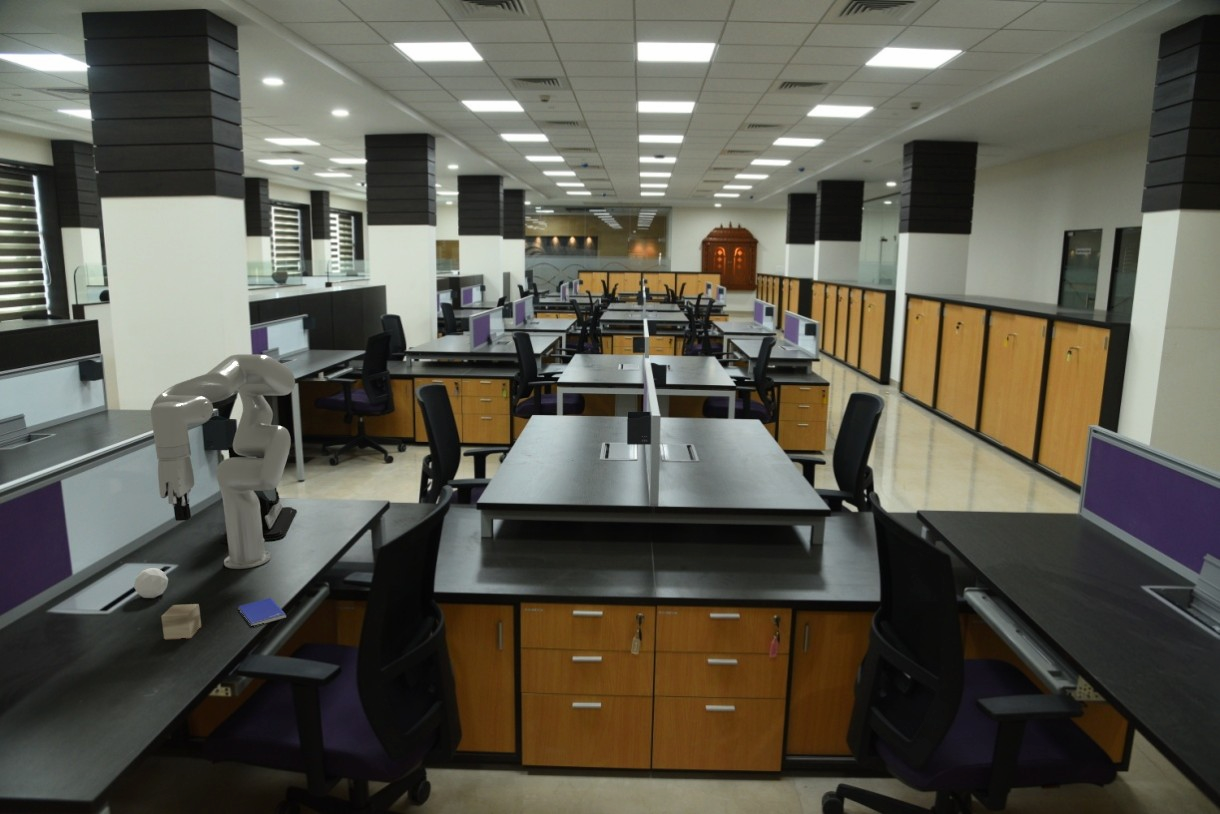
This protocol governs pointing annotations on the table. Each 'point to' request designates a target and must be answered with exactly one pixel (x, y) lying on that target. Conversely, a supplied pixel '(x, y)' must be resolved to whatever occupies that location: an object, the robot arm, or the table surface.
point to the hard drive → (262, 611)
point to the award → (270, 511)
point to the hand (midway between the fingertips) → (183, 519)
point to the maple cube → (181, 621)
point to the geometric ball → (151, 583)
